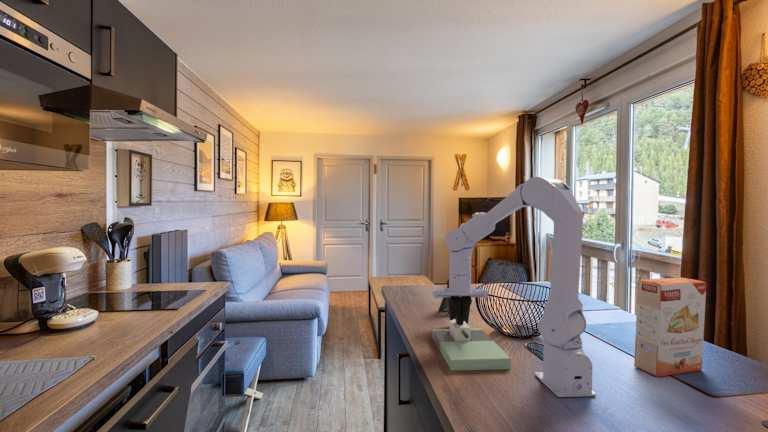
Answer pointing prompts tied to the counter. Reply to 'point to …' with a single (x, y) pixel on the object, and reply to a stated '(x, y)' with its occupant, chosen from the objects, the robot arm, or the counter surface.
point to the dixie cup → (452, 315)
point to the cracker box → (670, 325)
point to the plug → (459, 331)
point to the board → (471, 351)
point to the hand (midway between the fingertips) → (459, 324)
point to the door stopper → (444, 302)
